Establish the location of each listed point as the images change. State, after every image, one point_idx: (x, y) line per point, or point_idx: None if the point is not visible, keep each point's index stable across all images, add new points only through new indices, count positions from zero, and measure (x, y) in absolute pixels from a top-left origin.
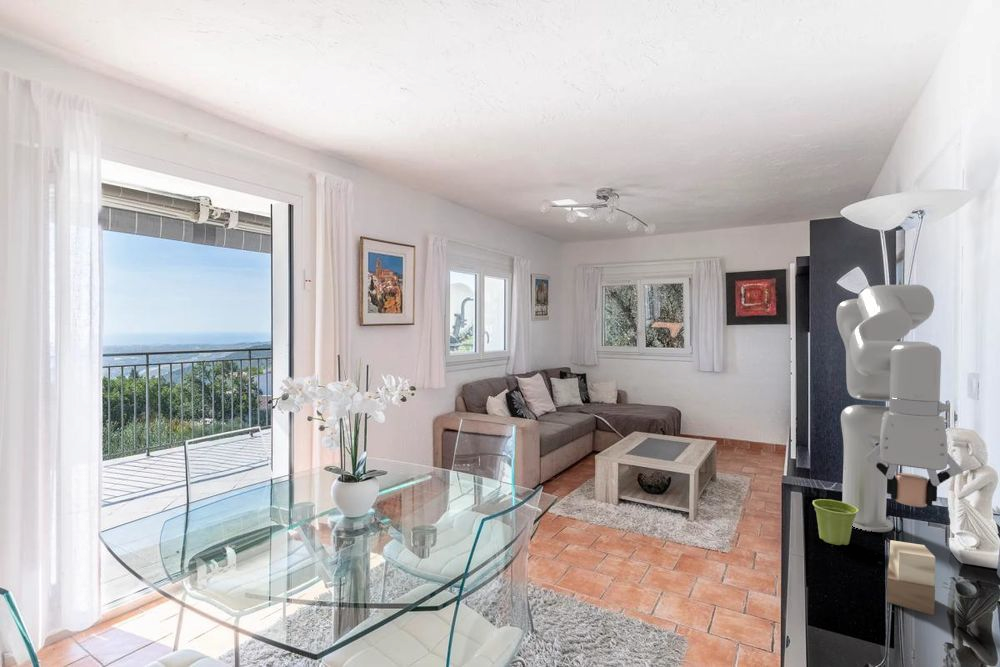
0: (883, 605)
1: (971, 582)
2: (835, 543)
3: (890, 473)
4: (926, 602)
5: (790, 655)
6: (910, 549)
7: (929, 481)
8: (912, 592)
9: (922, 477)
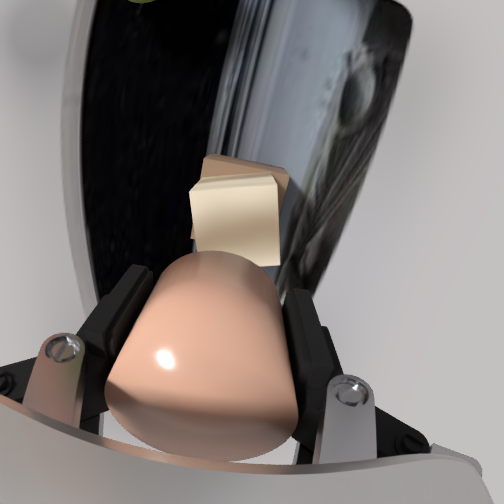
0: None
1: (374, 66)
2: (146, 1)
3: (83, 426)
4: None
5: None
6: (230, 238)
7: (294, 437)
8: None
9: (274, 410)
